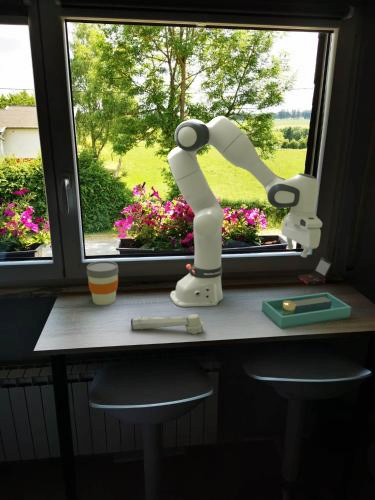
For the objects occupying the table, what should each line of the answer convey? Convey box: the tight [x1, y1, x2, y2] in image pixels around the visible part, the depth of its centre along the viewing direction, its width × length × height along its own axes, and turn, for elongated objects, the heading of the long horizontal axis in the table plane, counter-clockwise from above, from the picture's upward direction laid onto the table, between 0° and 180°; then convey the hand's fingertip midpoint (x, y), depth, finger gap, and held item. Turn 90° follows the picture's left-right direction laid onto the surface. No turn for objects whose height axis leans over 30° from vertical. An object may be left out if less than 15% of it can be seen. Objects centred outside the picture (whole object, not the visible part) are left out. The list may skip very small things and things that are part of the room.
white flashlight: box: [130, 313, 204, 335], centre depth 129 cm, size 5×7×25 cm
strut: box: [282, 297, 332, 316], centre depth 141 cm, size 20×5×5 cm, turn 108°
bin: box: [261, 291, 352, 330], centre depth 141 cm, size 30×14×4 cm, turn 108°
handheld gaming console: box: [297, 257, 334, 286], centre depth 174 cm, size 9×12×10 cm
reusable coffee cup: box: [86, 260, 120, 306], centre depth 149 cm, size 13×12×15 cm
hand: (296, 252), depth 142 cm, fingers open, 8 cm apart
